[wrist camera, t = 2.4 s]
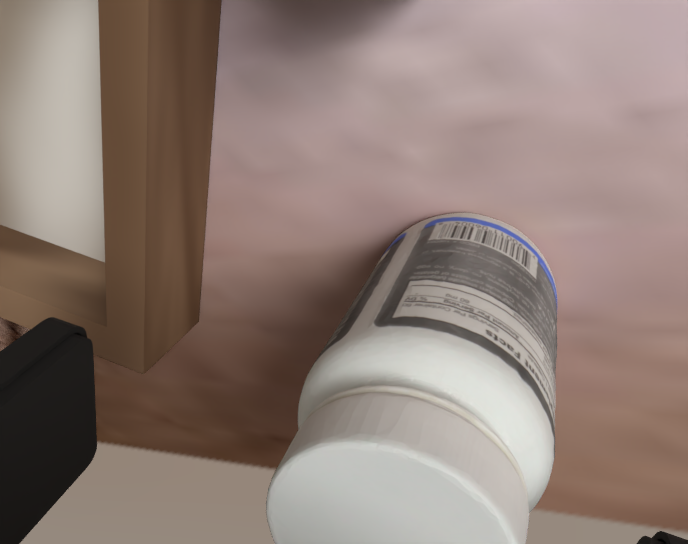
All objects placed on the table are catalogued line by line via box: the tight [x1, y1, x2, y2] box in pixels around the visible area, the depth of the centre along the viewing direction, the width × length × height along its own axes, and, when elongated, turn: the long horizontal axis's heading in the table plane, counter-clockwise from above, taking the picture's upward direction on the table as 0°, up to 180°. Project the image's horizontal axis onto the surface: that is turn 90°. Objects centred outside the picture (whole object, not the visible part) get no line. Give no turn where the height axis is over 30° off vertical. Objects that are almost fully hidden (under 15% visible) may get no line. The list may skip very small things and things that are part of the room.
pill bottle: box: [266, 213, 557, 544], centre depth 12 cm, size 5×5×8 cm
